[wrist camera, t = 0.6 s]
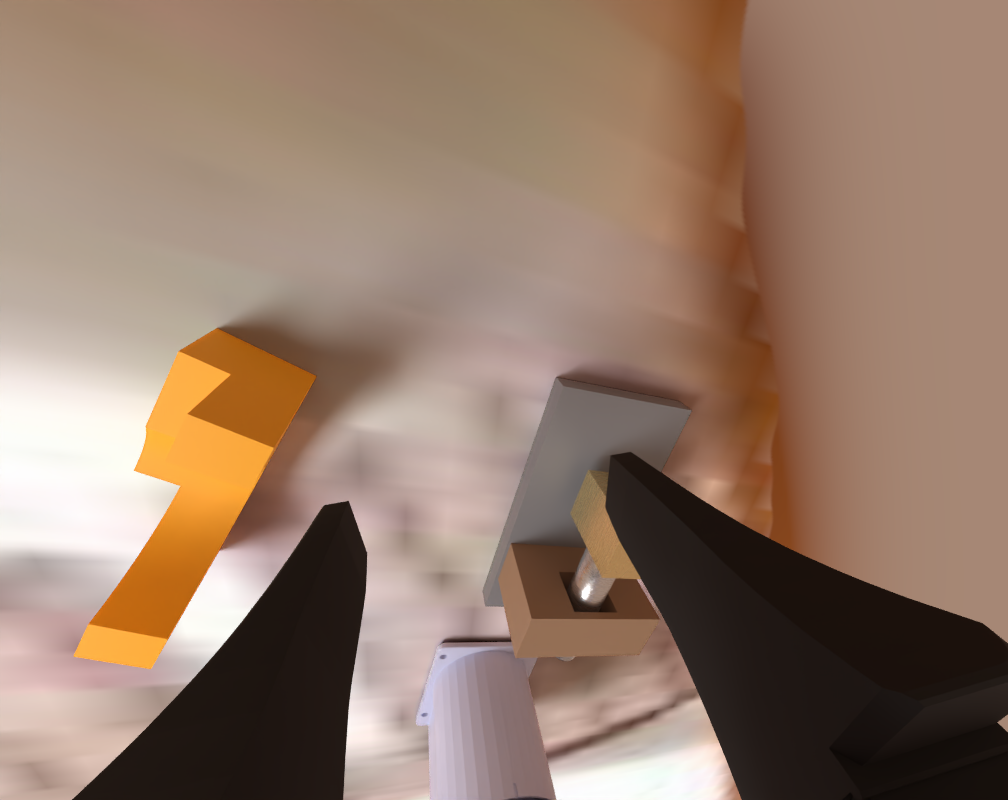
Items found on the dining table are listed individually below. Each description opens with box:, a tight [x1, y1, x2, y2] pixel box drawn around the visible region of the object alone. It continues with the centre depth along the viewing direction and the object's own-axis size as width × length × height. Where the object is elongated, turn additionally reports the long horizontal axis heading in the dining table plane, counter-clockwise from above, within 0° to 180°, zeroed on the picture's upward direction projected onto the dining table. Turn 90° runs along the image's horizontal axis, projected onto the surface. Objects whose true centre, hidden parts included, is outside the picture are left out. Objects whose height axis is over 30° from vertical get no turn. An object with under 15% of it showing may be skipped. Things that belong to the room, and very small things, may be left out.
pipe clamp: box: [73, 328, 317, 669], centre depth 17 cm, size 12×4×6 cm, turn 145°
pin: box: [556, 470, 641, 661], centre depth 22 cm, size 11×3×4 cm, turn 164°
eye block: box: [483, 377, 692, 658], centre depth 23 cm, size 16×8×6 cm, turn 164°
